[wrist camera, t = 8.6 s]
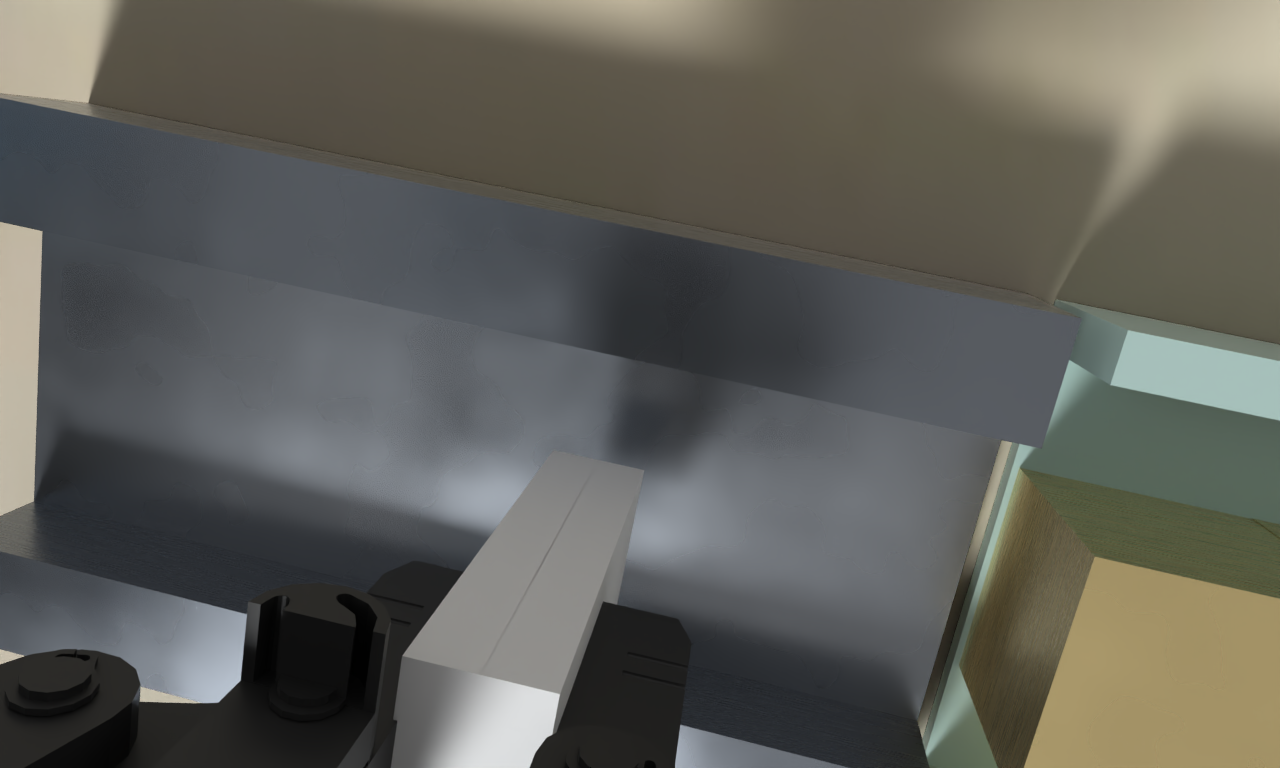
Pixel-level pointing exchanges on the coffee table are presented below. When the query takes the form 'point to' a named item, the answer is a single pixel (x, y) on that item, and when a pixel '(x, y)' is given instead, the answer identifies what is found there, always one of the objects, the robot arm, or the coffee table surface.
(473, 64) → the coffee table surface
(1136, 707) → the chip
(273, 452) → the slot board
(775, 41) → the coffee table surface
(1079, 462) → the tray
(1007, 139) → the coffee table surface
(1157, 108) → the coffee table surface
